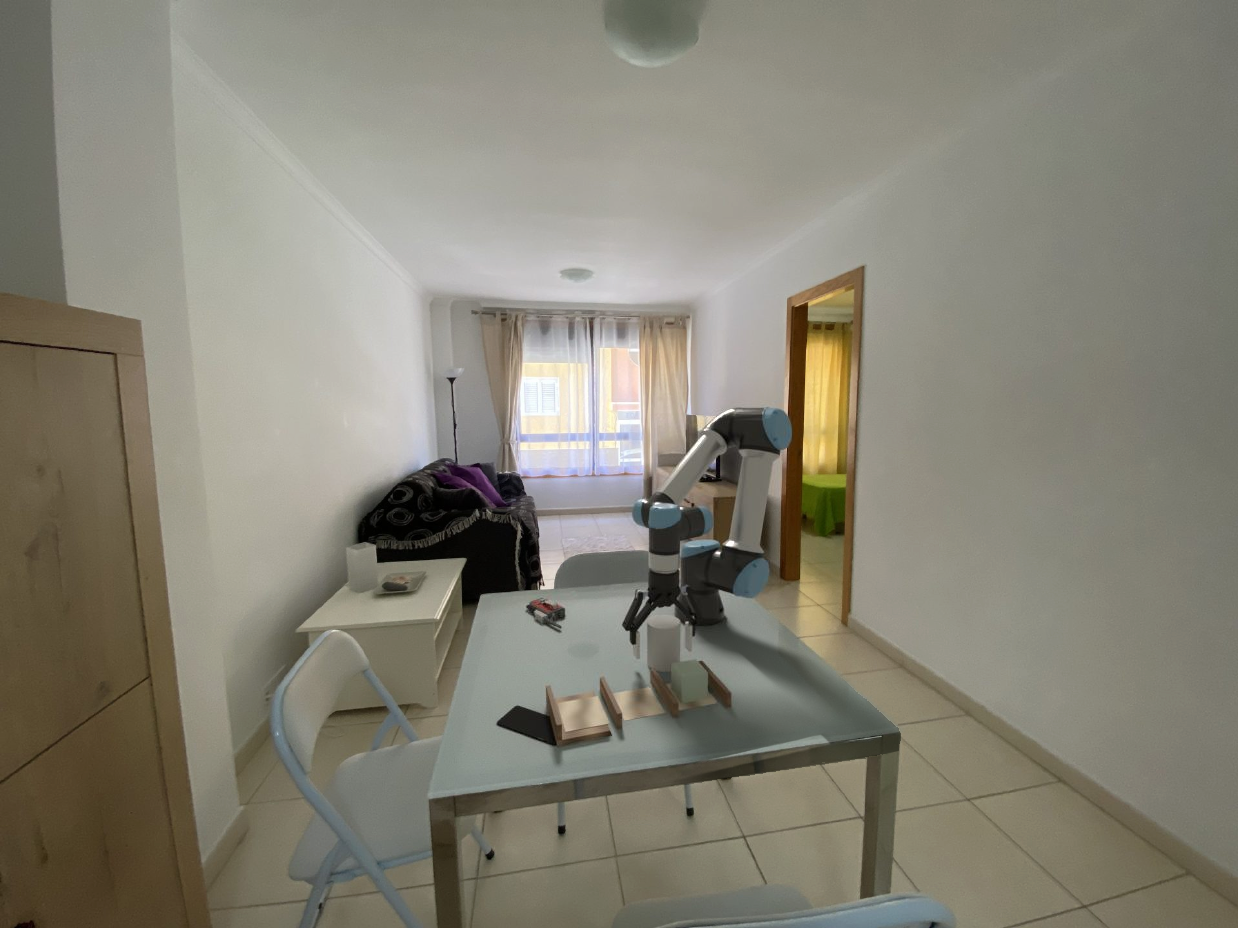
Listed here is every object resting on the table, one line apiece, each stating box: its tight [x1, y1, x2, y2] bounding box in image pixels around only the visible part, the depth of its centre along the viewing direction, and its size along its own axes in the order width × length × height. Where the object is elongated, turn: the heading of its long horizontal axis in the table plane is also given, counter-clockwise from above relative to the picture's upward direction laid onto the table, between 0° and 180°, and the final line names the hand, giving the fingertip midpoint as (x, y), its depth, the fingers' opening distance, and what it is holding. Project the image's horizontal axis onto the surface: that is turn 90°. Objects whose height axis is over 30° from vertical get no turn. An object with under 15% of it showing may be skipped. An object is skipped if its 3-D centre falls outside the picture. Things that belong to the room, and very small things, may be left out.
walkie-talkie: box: [525, 597, 566, 630], centre depth 155 cm, size 9×4×20 cm
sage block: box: [670, 659, 709, 703], centre depth 111 cm, size 6×6×6 cm
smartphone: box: [496, 705, 557, 747], centre depth 103 cm, size 7×1×15 cm
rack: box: [545, 660, 732, 748], centre depth 108 cm, size 37×14×4 cm, turn 106°
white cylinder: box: [646, 614, 682, 673], centre depth 124 cm, size 8×8×12 cm
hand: (662, 652), depth 124 cm, fingers open, 13 cm apart
